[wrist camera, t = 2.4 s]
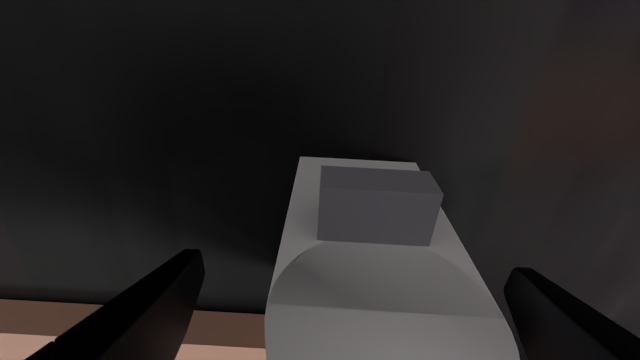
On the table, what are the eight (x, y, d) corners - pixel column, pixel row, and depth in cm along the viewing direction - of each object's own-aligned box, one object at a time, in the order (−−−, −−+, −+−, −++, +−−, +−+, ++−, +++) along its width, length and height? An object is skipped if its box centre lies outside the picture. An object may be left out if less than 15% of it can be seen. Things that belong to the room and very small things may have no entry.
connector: (423, 125, 9) (672, 419, 2) (390, 278, 12) (460, 593, 5) (300, 119, 9) (217, 390, 2) (298, 273, 12) (258, 579, 5)
